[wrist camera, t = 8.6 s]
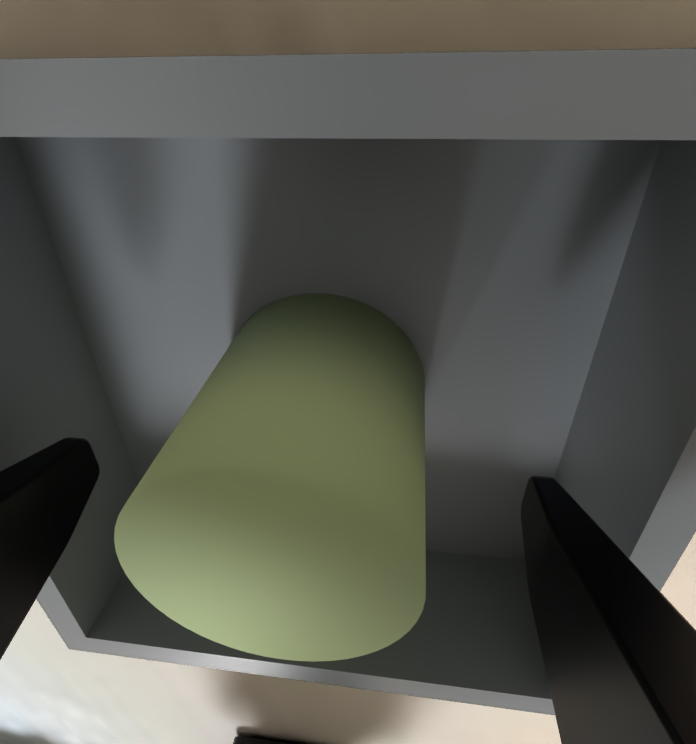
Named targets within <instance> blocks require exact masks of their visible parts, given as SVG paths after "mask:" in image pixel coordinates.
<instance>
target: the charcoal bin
mask: <svg viewBox="0 0 696 744" xmlns="http://www.w3.org/2000/svg"><path fill="white" fill-rule="evenodd" d="M311 293H323V294H332V295H338V296H343V297H347V298H351V299H354V300H356V301H359V302H362V303H364V304H366V305H368V306H370V307H372V308H374V309H376V310H378V311H379V312H381V313H382V314H384V315H385V316H387V317H388V318H389V319H391V320H392V321H393V322H394V323H395V324H396V325H398V326H399V328H400V329H401V330H402V331H403V332H404V333H405V334H406V335H407V337H408V338H409V340H410V341H411V343H412V344H413V345H414V347H415V349H416V351H417V353H418V355H419V358H420V361H421V364H422V367H423V372H424V379H425V544H426V598H425V603H424V607H423V611H422V613H421V615H420V617H419V619H418V621H417V622H416V623H415V625H414V626H413V627H412V628H411V630H410V631H409V632H407V633H406V634H405V635H404V636H403V637H402V638H400V639H399V640H397V641H396V642H394V643H392V644H391V645H389V646H387V647H385V648H383V649H380V650H378V651H376V652H373V653H370V654H366V655H363V656H359V657H354V658H350V659H343V660H335V661H316V662H313V661H293V660H283V659H276V658H270V657H264V656H260V655H256V654H251V653H247V652H244V651H240V650H237V649H234V648H230V647H228V646H225V645H222V644H220V643H217V642H214V641H212V640H210V639H207V638H205V637H203V636H201V635H198V634H197V633H195V632H193V631H191V630H189V629H187V628H185V627H183V626H182V625H180V624H178V623H177V622H175V621H174V620H172V619H170V618H169V617H168V616H166V615H165V614H164V613H162V612H161V611H159V610H158V609H157V608H156V607H155V606H153V605H152V604H151V603H150V602H149V601H148V600H147V599H145V597H144V596H143V595H142V594H141V593H140V592H139V591H138V590H137V589H136V588H135V587H134V585H133V584H132V582H131V581H130V580H129V578H128V577H127V576H126V574H125V572H124V570H123V568H122V566H121V565H120V562H119V559H118V556H117V554H116V549H115V543H114V531H115V525H116V522H117V518H118V515H119V514H120V512H121V510H122V508H123V507H124V505H125V503H126V502H127V500H128V499H129V497H130V496H131V494H132V493H133V491H134V490H135V488H136V487H137V485H138V484H139V482H140V481H141V479H142V478H143V476H144V475H145V473H146V472H147V470H148V469H149V467H150V466H151V464H152V463H153V461H154V460H155V458H156V457H157V455H158V454H159V452H160V450H161V449H162V447H163V446H164V444H165V443H166V441H167V440H168V438H169V437H170V435H171V434H172V432H173V431H174V429H175V428H176V426H177V425H178V423H179V422H180V420H181V419H182V417H183V416H184V414H185V413H186V411H187V410H188V408H189V407H190V405H191V404H192V402H193V401H194V399H195V397H196V396H197V394H198V393H199V391H200V390H201V388H202V387H203V385H204V384H205V382H206V381H207V379H208V378H209V376H210V375H211V373H212V372H213V370H214V369H215V367H216V366H217V364H218V363H219V361H220V360H221V358H222V357H223V355H224V354H225V352H226V351H227V349H228V348H229V346H230V344H231V343H232V341H233V340H234V338H235V337H236V335H237V334H238V332H239V331H240V329H241V328H242V327H243V325H244V324H245V323H246V322H247V321H248V319H249V318H250V317H252V316H253V315H254V314H255V313H256V312H257V311H259V310H260V309H262V308H264V307H265V306H267V305H268V304H271V303H273V302H275V301H277V300H280V299H283V298H286V297H290V296H294V295H300V294H311ZM67 437H74V438H84V439H87V440H88V441H89V442H90V444H91V447H92V449H93V452H94V454H95V457H96V459H97V461H98V464H99V468H100V473H99V477H98V480H97V482H96V484H95V486H94V489H93V491H92V493H91V495H90V497H89V499H88V502H87V504H86V506H85V508H84V510H83V513H82V515H81V517H80V519H79V521H78V524H77V526H76V528H75V530H74V532H73V534H72V536H71V538H70V540H69V542H68V544H67V546H66V548H65V550H64V551H63V553H62V555H61V557H60V558H59V560H58V562H57V564H56V565H55V567H54V569H53V570H52V572H51V574H50V576H49V577H48V579H47V581H46V582H45V584H44V586H43V588H42V589H41V591H40V593H39V594H38V596H37V598H36V599H37V601H38V602H39V604H40V605H41V607H42V608H43V610H44V611H45V613H46V614H47V616H48V618H49V619H50V621H51V622H52V624H53V625H54V627H55V628H56V630H57V631H58V633H59V635H60V636H61V638H62V639H63V641H64V642H65V644H66V645H67V647H68V648H69V649H73V650H80V651H87V652H95V653H102V654H109V655H117V656H124V657H131V658H139V659H146V660H153V661H161V662H168V663H175V664H183V665H190V666H197V667H205V668H212V669H219V670H227V671H234V672H241V673H249V674H256V675H263V676H271V677H278V678H285V679H293V680H300V681H307V682H315V683H322V684H329V685H337V686H344V687H351V688H359V689H366V690H373V691H381V692H388V693H395V694H403V695H410V696H417V697H425V698H432V699H439V700H447V701H454V702H461V703H469V704H476V705H483V706H491V707H498V708H505V709H513V710H520V711H527V712H535V713H542V714H549V715H555V711H554V706H553V702H552V697H551V693H550V688H549V684H548V679H547V675H546V670H545V666H544V661H543V657H542V652H541V648H540V643H539V639H538V634H537V630H536V625H535V621H534V616H533V612H532V607H531V602H530V597H529V590H528V582H527V573H526V563H525V553H524V543H523V534H522V524H521V504H522V500H523V497H524V493H525V490H526V486H527V482H528V480H529V478H530V477H531V476H534V475H535V476H547V477H552V478H554V479H555V480H556V481H557V482H558V483H559V484H560V485H561V486H562V487H563V488H564V489H565V490H566V491H567V492H568V493H569V495H570V496H571V497H572V498H573V499H574V500H575V501H576V502H577V503H578V504H579V505H580V506H581V507H582V508H583V510H584V511H585V512H586V513H587V514H588V515H589V516H590V517H591V518H592V519H593V520H594V521H595V522H596V524H597V525H598V526H599V527H600V528H601V529H602V530H603V531H604V532H605V533H606V534H607V535H608V536H609V537H610V539H611V540H612V541H613V542H614V543H615V544H616V545H617V546H618V547H619V548H620V549H621V550H622V551H623V553H624V554H625V555H626V556H627V557H628V558H629V559H630V560H631V561H632V562H633V563H634V564H635V565H636V566H637V568H638V569H639V570H640V571H641V572H642V573H643V574H644V575H645V576H646V577H647V578H648V579H649V580H650V582H651V583H652V584H653V585H654V586H655V587H656V588H657V589H658V590H659V591H661V589H662V587H663V586H664V584H665V582H666V581H667V579H668V577H669V575H670V574H671V572H672V570H673V569H674V567H675V565H676V564H677V562H678V560H679V559H680V557H681V555H682V554H683V552H684V550H685V549H686V547H687V545H688V544H689V542H690V540H691V539H692V537H693V535H694V534H695V532H696V48H686V49H621V50H557V51H493V52H428V53H364V54H300V55H235V56H171V57H106V58H42V59H0V471H2V470H4V469H6V468H8V467H10V466H12V465H13V464H15V463H17V462H19V461H21V460H23V459H25V458H27V457H29V456H31V455H33V454H35V453H37V452H38V451H40V450H42V449H44V448H46V447H48V446H50V445H52V444H54V443H56V442H58V441H60V440H62V439H64V438H67Z"/></svg>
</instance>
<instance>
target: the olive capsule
mask: <svg viewBox="0 0 696 744" xmlns="http://www.w3.org/2000/svg"><path fill="white" fill-rule="evenodd" d="M114 543H115V549H116V554H117V556H118V559H119V562H120V565H121V566H122V568H123V570H124V572H125V574H126V576H127V577H128V578H129V580H130V581H131V582H132V584H133V585H134V587H135V588H136V589H137V590H138V591H139V592H140V593H141V594H142V595H143V596H144V597H145V599H147V600H148V601H149V602H150V603H151V604H152V605H153V606H155V607H156V608H157V609H158V610H159V611H161V612H162V613H164V614H165V615H166V616H168V617H169V618H170V619H172V620H174V621H175V622H177V623H178V624H180V625H182V626H183V627H185V628H187V629H189V630H191V631H193V632H195V633H197V634H198V635H201V636H203V637H205V638H207V639H210V640H212V641H214V642H217V643H220V644H222V645H225V646H228V647H230V648H234V649H237V650H240V651H244V652H247V653H251V654H256V655H260V656H264V657H270V658H276V659H283V660H293V661H313V662H316V661H335V660H343V659H350V658H354V657H359V656H363V655H366V654H370V653H373V652H376V651H378V650H380V649H383V648H385V647H387V646H389V645H391V644H392V643H394V642H396V641H397V640H399V639H400V638H402V637H403V636H404V635H405V634H406V633H407V632H409V631H410V630H411V628H412V627H413V626H414V625H415V623H416V622H417V621H418V619H419V617H420V615H421V613H422V611H423V607H424V603H425V598H426V544H425V379H424V372H423V367H422V364H421V361H420V358H419V355H418V353H417V351H416V349H415V347H414V345H413V344H412V343H411V341H410V340H409V338H408V337H407V335H406V334H405V333H404V332H403V331H402V330H401V329H400V328H399V326H398V325H396V324H395V323H394V322H393V321H392V320H391V319H389V318H388V317H387V316H385V315H384V314H382V313H381V312H379V311H378V310H376V309H374V308H372V307H370V306H368V305H366V304H364V303H362V302H359V301H356V300H354V299H351V298H347V297H343V296H338V295H332V294H323V293H311V294H300V295H294V296H290V297H286V298H283V299H280V300H277V301H275V302H273V303H271V304H268V305H267V306H265V307H264V308H262V309H260V310H259V311H257V312H256V313H255V314H254V315H253V316H252V317H250V318H249V319H248V321H247V322H246V323H245V324H244V325H243V327H242V328H241V329H240V331H239V332H238V334H237V335H236V337H235V338H234V340H233V341H232V343H231V344H230V346H229V348H228V349H227V351H226V352H225V354H224V355H223V357H222V358H221V360H220V361H219V363H218V364H217V366H216V367H215V369H214V370H213V372H212V373H211V375H210V376H209V378H208V379H207V381H206V382H205V384H204V385H203V387H202V388H201V390H200V391H199V393H198V394H197V396H196V397H195V399H194V401H193V402H192V404H191V405H190V407H189V408H188V410H187V411H186V413H185V414H184V416H183V417H182V419H181V420H180V422H179V423H178V425H177V426H176V428H175V429H174V431H173V432H172V434H171V435H170V437H169V438H168V440H167V441H166V443H165V444H164V446H163V447H162V449H161V450H160V452H159V454H158V455H157V457H156V458H155V460H154V461H153V463H152V464H151V466H150V467H149V469H148V470H147V472H146V473H145V475H144V476H143V478H142V479H141V481H140V482H139V484H138V485H137V487H136V488H135V490H134V491H133V493H132V494H131V496H130V497H129V499H128V500H127V502H126V503H125V505H124V507H123V508H122V510H121V512H120V514H119V515H118V518H117V522H116V525H115V531H114Z"/></svg>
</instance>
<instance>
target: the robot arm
mask: <svg viewBox="0 0 696 744" xmlns="http://www.w3.org/2000/svg"><path fill="white" fill-rule="evenodd" d="M99 473H100V468H99V464H98V461H97V459H96V457H95V454H94V452H93V449H92V447H91V444H90V442H89V441H88V440H87V439H84V438H74V437H67V438H64V439H62V440H60V441H58V442H56V443H54V444H52V445H50V446H48V447H46V448H44V449H42V450H40V451H38V452H37V453H35V454H33V455H31V456H29V457H27V458H25V459H23V460H21V461H19V462H17V463H15V464H13V465H12V466H10V467H8V468H6V469H4V470H2V471H0V660H1V658H2V656H3V654H4V653H5V651H6V649H7V648H8V646H9V644H10V642H11V641H12V639H13V637H14V636H15V634H16V632H17V630H18V629H19V627H20V625H21V624H22V622H23V620H24V618H25V617H26V615H27V613H28V612H29V610H30V608H31V606H32V605H33V603H34V601H35V600H36V598H37V596H38V594H39V593H40V591H41V589H42V588H43V586H44V584H45V582H46V581H47V579H48V577H49V576H50V574H51V572H52V570H53V569H54V567H55V565H56V564H57V562H58V560H59V558H60V557H61V555H62V553H63V551H64V550H65V548H66V546H67V544H68V542H69V540H70V538H71V536H72V534H73V532H74V530H75V528H76V526H77V524H78V521H79V519H80V517H81V515H82V513H83V510H84V508H85V506H86V504H87V502H88V499H89V497H90V495H91V493H92V491H93V489H94V486H95V484H96V482H97V480H98V477H99ZM521 524H522V534H523V543H524V553H525V563H526V573H527V582H528V590H529V597H530V602H531V607H532V612H533V616H534V621H535V625H536V630H537V634H538V639H539V643H540V648H541V652H542V657H543V661H544V666H545V670H546V675H547V679H548V684H549V688H550V693H551V697H552V702H553V706H554V711H555V715H556V720H557V724H558V729H559V733H560V738H561V742H562V744H696V630H695V629H694V628H693V627H692V626H691V624H690V623H689V622H688V621H687V620H686V619H685V618H684V617H683V616H682V615H681V614H680V613H679V612H678V611H677V609H676V608H675V607H674V606H673V605H672V604H671V603H670V602H669V601H668V600H667V599H666V598H665V597H664V595H663V594H662V593H661V592H660V591H659V590H658V589H657V588H656V587H655V586H654V585H653V584H652V583H651V582H650V580H649V579H648V578H647V577H646V576H645V575H644V574H643V573H642V572H641V571H640V570H639V569H638V568H637V566H636V565H635V564H634V563H633V562H632V561H631V560H630V559H629V558H628V557H627V556H626V555H625V554H624V553H623V551H622V550H621V549H620V548H619V547H618V546H617V545H616V544H615V543H614V542H613V541H612V540H611V539H610V537H609V536H608V535H607V534H606V533H605V532H604V531H603V530H602V529H601V528H600V527H599V526H598V525H597V524H596V522H595V521H594V520H593V519H592V518H591V517H590V516H589V515H588V514H587V513H586V512H585V511H584V510H583V508H582V507H581V506H580V505H579V504H578V503H577V502H576V501H575V500H574V499H573V498H572V497H571V496H570V495H569V493H568V492H567V491H566V490H565V489H564V488H563V487H562V486H561V485H560V484H559V483H558V482H557V481H556V480H555V479H554V478H552V477H547V476H535V475H534V476H531V477H530V478H529V480H528V482H527V486H526V490H525V493H524V497H523V500H522V504H521ZM233 744H288V743H282V742H275V741H268V740H262V739H255V738H249V737H242V736H237V737H235V739H234V742H233Z"/></svg>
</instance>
